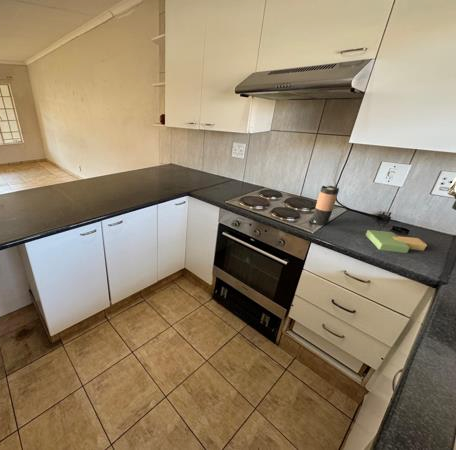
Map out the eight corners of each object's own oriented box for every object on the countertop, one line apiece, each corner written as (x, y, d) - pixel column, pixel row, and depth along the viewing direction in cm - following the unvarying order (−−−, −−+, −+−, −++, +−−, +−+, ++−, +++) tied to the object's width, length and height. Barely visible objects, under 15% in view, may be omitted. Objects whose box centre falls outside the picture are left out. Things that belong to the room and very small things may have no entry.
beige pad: (415, 243, 113) (418, 238, 112) (423, 250, 108) (427, 244, 107) (387, 240, 116) (390, 235, 115) (394, 247, 111) (397, 241, 109)
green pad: (390, 237, 118) (392, 232, 117) (407, 253, 106) (410, 247, 105) (365, 235, 121) (367, 229, 120) (379, 249, 109) (382, 244, 108)
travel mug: (324, 227, 129) (336, 191, 120) (308, 222, 134) (319, 187, 125) (329, 223, 133) (341, 187, 124) (314, 218, 138) (324, 184, 129)
